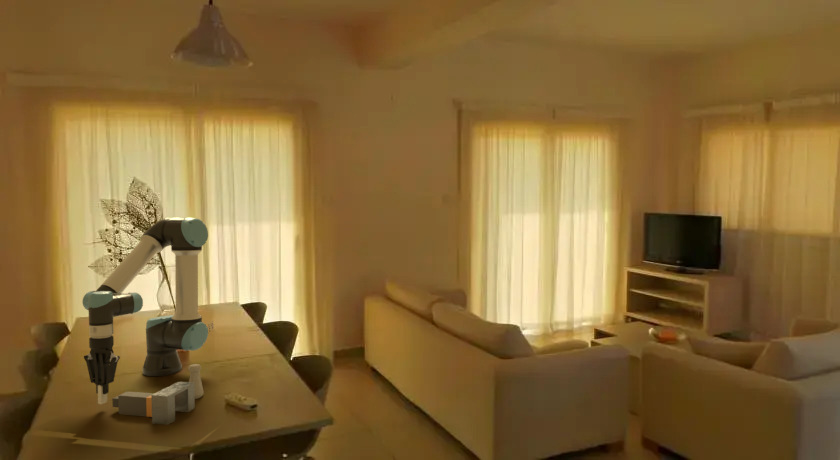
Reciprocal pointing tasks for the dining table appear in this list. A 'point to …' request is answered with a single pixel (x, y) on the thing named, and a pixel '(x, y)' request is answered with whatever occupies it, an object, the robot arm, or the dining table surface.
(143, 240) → the robot arm
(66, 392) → the dining table surface
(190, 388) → the block
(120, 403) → the plug
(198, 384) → the salt shaker
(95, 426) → the dining table surface
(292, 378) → the dining table surface
